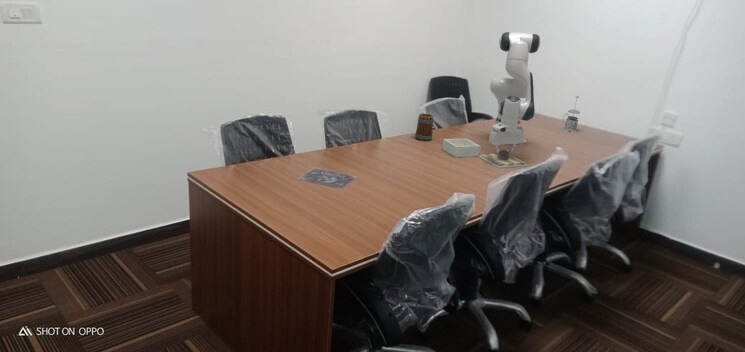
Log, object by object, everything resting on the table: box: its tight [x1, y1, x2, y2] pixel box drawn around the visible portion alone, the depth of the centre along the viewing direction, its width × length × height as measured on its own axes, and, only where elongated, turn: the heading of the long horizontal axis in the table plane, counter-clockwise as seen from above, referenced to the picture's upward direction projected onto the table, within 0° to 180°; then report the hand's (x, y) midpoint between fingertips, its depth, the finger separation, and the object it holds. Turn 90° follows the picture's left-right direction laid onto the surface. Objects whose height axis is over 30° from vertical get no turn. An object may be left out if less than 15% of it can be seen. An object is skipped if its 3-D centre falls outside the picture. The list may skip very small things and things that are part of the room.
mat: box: [477, 155, 528, 169], centre depth 275 cm, size 19×19×1 cm
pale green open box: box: [441, 137, 481, 158], centre depth 283 cm, size 15×15×6 cm
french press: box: [562, 95, 581, 133], centre depth 354 cm, size 10×12×25 cm
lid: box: [480, 149, 526, 166], centre depth 274 cm, size 17×17×5 cm
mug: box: [414, 112, 434, 142], centre depth 306 cm, size 16×11×15 cm
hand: (504, 151), depth 273 cm, fingers open, 8 cm apart
